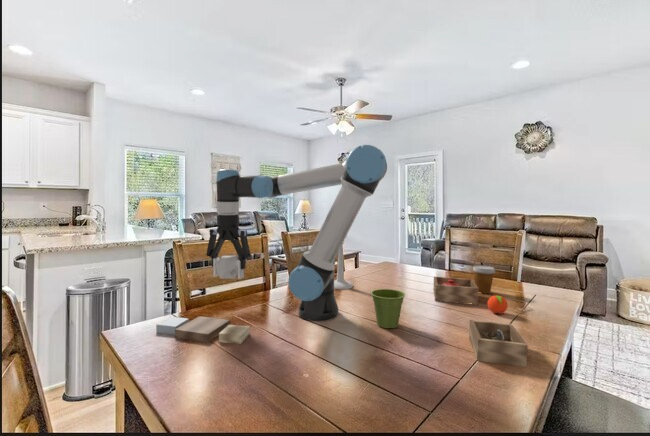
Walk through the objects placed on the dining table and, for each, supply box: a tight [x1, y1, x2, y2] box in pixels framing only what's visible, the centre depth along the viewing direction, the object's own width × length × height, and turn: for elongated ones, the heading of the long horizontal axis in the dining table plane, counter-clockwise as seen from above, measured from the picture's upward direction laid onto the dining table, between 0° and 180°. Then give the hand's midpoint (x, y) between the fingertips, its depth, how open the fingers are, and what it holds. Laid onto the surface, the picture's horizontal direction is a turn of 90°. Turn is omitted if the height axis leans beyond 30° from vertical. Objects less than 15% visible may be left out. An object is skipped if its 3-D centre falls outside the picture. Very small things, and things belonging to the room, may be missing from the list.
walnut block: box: [174, 315, 231, 343], centre depth 108 cm, size 12×12×3 cm
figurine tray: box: [468, 319, 528, 368], centre depth 96 cm, size 12×15×6 cm
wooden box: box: [433, 276, 479, 305], centre depth 148 cm, size 17×16×7 cm
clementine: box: [487, 294, 509, 314], centre depth 128 cm, size 8×7×7 cm
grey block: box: [155, 316, 190, 336], centre depth 110 cm, size 7×7×3 cm
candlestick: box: [334, 240, 354, 291], centre depth 164 cm, size 13×13×30 cm
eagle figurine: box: [479, 330, 504, 341], centre depth 95 cm, size 8×8×10 cm
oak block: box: [218, 324, 251, 344], centre depth 104 cm, size 7×7×3 cm
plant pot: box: [370, 288, 406, 329], centre depth 115 cm, size 12×12×11 cm
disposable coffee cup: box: [472, 264, 496, 294], centre depth 156 cm, size 10×10×12 cm
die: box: [215, 255, 239, 280], centre depth 118 cm, size 8×9×10 cm
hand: (228, 277), depth 118 cm, fingers closed on die, 9 cm apart
